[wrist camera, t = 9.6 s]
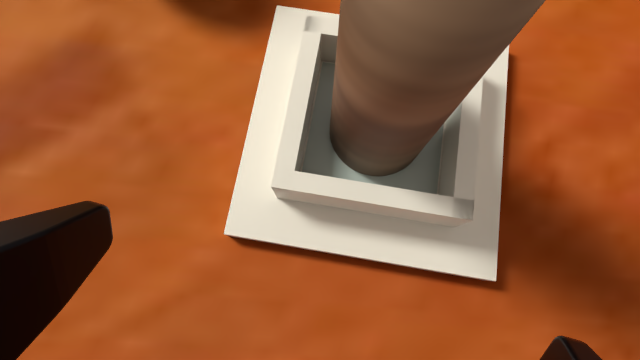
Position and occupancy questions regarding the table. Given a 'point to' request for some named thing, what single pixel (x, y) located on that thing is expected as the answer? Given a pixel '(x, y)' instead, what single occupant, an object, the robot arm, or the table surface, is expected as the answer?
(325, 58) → the mill stand
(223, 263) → the table surface
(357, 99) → the pepper mill
